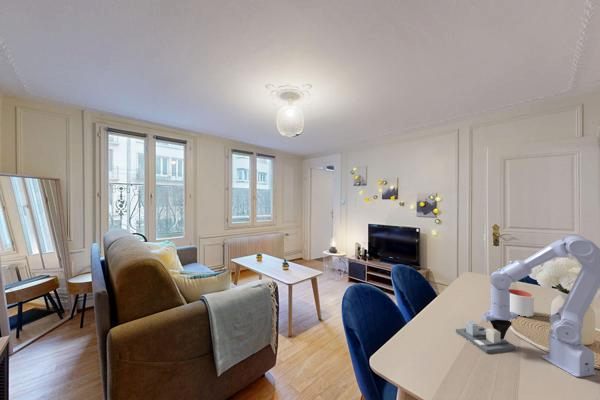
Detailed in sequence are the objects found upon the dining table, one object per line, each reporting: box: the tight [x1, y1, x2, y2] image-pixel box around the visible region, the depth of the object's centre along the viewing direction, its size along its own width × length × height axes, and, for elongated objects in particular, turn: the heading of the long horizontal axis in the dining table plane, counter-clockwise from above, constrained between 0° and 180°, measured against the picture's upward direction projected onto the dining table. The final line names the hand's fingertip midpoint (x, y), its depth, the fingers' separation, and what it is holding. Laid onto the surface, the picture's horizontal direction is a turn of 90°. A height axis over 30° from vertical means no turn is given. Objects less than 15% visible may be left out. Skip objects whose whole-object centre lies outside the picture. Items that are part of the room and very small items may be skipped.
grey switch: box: [465, 321, 480, 336], centre depth 94 cm, size 3×3×4 cm
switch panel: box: [455, 326, 517, 354], centre depth 91 cm, size 14×13×2 cm
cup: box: [509, 288, 535, 318], centre depth 113 cm, size 10×10×10 cm
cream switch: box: [485, 327, 500, 343], centre depth 89 cm, size 3×3×4 cm
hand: (499, 337), depth 89 cm, fingers closed
